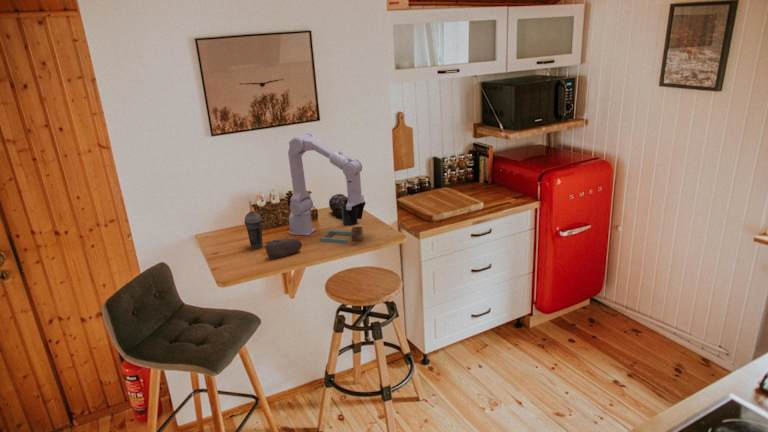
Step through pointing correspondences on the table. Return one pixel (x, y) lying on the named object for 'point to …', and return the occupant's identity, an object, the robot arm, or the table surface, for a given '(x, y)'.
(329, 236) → the channel
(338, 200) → the pine cone
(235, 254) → the table surface
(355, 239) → the walnut block
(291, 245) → the perforated stone tool
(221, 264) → the table surface
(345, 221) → the supplement bottle
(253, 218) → the beverage cup
